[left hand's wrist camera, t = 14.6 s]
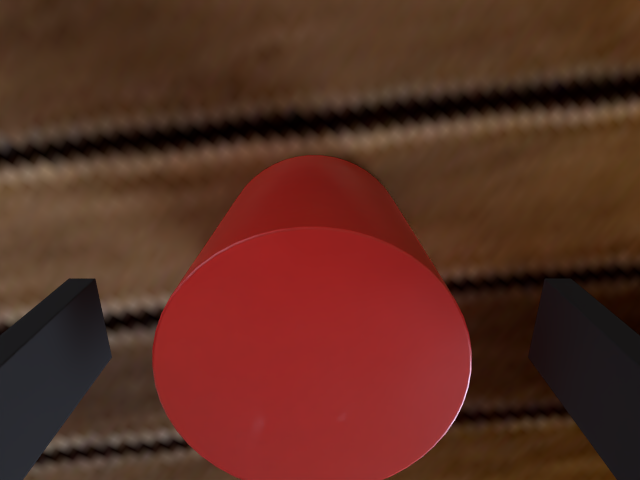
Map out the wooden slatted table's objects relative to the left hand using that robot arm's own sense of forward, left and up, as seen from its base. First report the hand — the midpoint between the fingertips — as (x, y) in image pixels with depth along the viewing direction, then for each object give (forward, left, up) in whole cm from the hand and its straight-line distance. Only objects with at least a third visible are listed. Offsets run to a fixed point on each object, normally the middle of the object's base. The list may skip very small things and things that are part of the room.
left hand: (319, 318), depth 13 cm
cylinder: (0, 0, -7) cm, 7 cm away
